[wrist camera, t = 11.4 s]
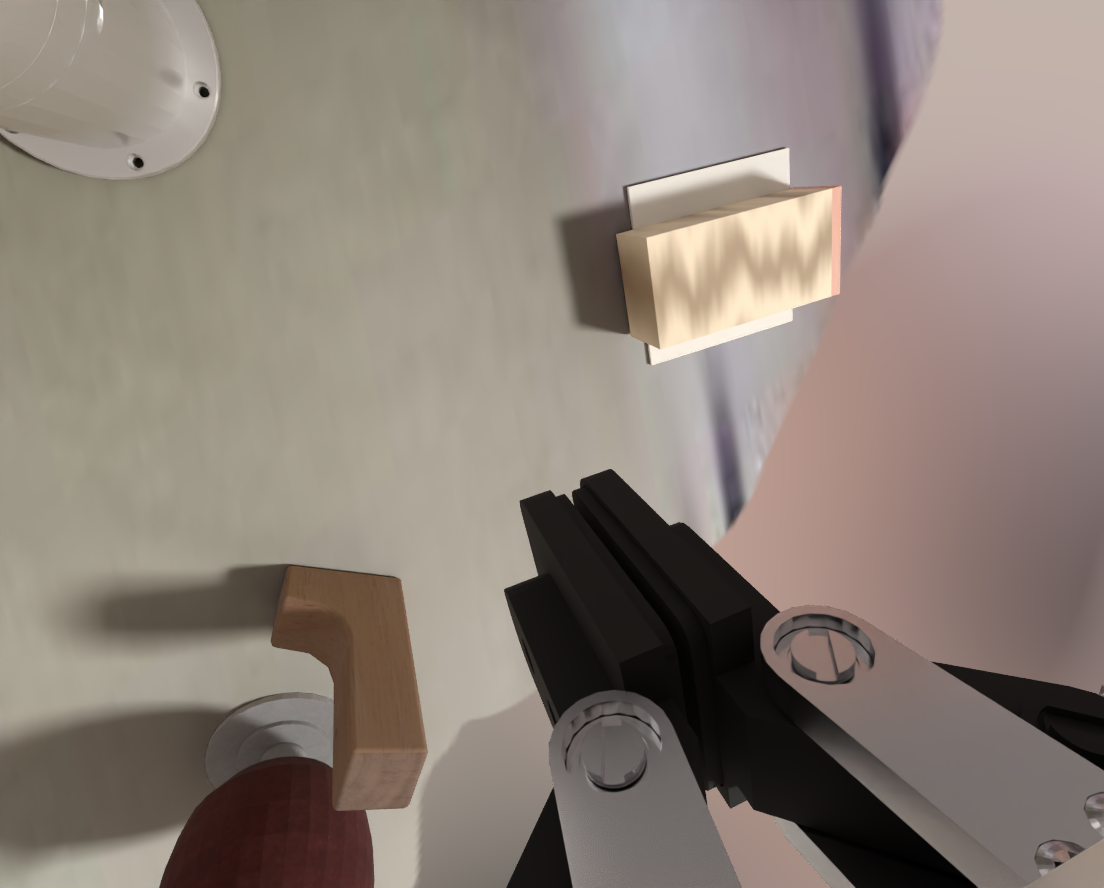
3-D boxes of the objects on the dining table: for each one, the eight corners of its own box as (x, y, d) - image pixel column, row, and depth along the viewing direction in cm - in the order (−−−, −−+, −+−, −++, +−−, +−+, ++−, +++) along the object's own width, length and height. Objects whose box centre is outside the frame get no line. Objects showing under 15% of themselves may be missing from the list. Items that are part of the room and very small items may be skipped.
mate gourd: (208, 683, 47) (129, 966, 30) (382, 686, 53) (402, 926, 35) (181, 825, 52) (100, 1146, 34) (346, 814, 57) (348, 1086, 40)
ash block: (646, 237, 40) (841, 185, 43) (616, 234, 44) (795, 187, 47) (660, 349, 43) (839, 293, 47) (630, 335, 48) (796, 285, 51)
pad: (626, 187, 43) (628, 187, 43) (786, 148, 46) (789, 147, 46) (650, 364, 50) (651, 365, 49) (790, 320, 52) (792, 320, 52)
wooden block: (275, 611, 47) (241, 818, 31) (287, 562, 46) (259, 753, 30) (388, 620, 51) (409, 811, 35) (402, 576, 49) (430, 752, 34)
